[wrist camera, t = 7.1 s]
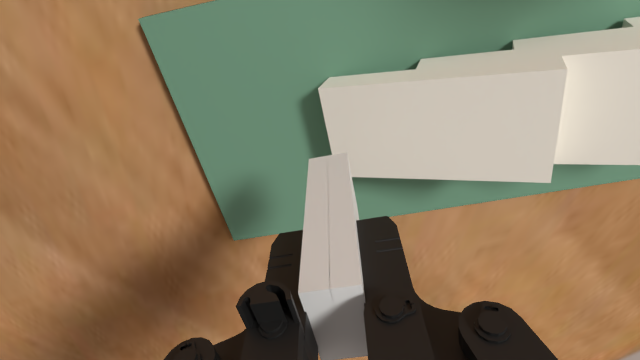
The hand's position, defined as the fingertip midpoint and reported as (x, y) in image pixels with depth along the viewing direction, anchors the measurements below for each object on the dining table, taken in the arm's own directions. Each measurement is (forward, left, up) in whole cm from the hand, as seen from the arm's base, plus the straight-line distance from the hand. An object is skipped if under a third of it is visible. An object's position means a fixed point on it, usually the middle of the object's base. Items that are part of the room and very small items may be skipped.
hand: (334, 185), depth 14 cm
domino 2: (+5, 0, -6) cm, 7 cm away
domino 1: (0, 0, -6) cm, 6 cm away
